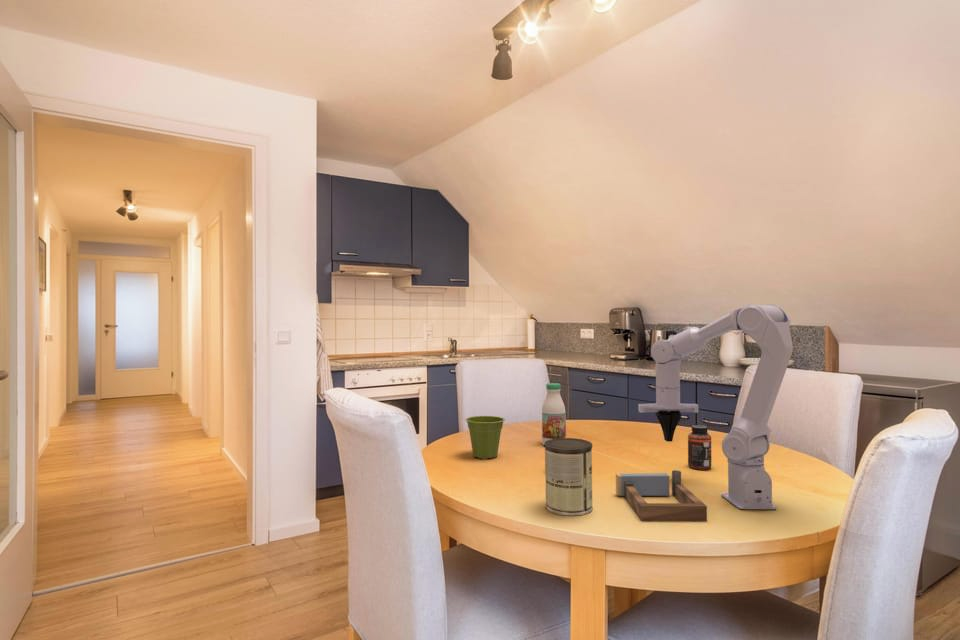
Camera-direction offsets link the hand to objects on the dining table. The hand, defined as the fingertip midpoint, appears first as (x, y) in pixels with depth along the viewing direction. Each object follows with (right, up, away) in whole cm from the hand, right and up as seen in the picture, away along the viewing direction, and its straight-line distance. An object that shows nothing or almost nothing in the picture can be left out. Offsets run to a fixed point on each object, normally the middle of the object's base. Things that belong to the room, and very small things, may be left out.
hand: (668, 440), depth 135 cm
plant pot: (-46, -10, +24) cm, 53 cm away
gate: (-10, -10, -12) cm, 18 cm away
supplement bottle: (+12, -10, +11) cm, 19 cm away
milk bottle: (-24, -10, +38) cm, 46 cm away
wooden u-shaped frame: (-8, -10, -19) cm, 23 cm away
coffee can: (-29, -10, -19) cm, 36 cm away
